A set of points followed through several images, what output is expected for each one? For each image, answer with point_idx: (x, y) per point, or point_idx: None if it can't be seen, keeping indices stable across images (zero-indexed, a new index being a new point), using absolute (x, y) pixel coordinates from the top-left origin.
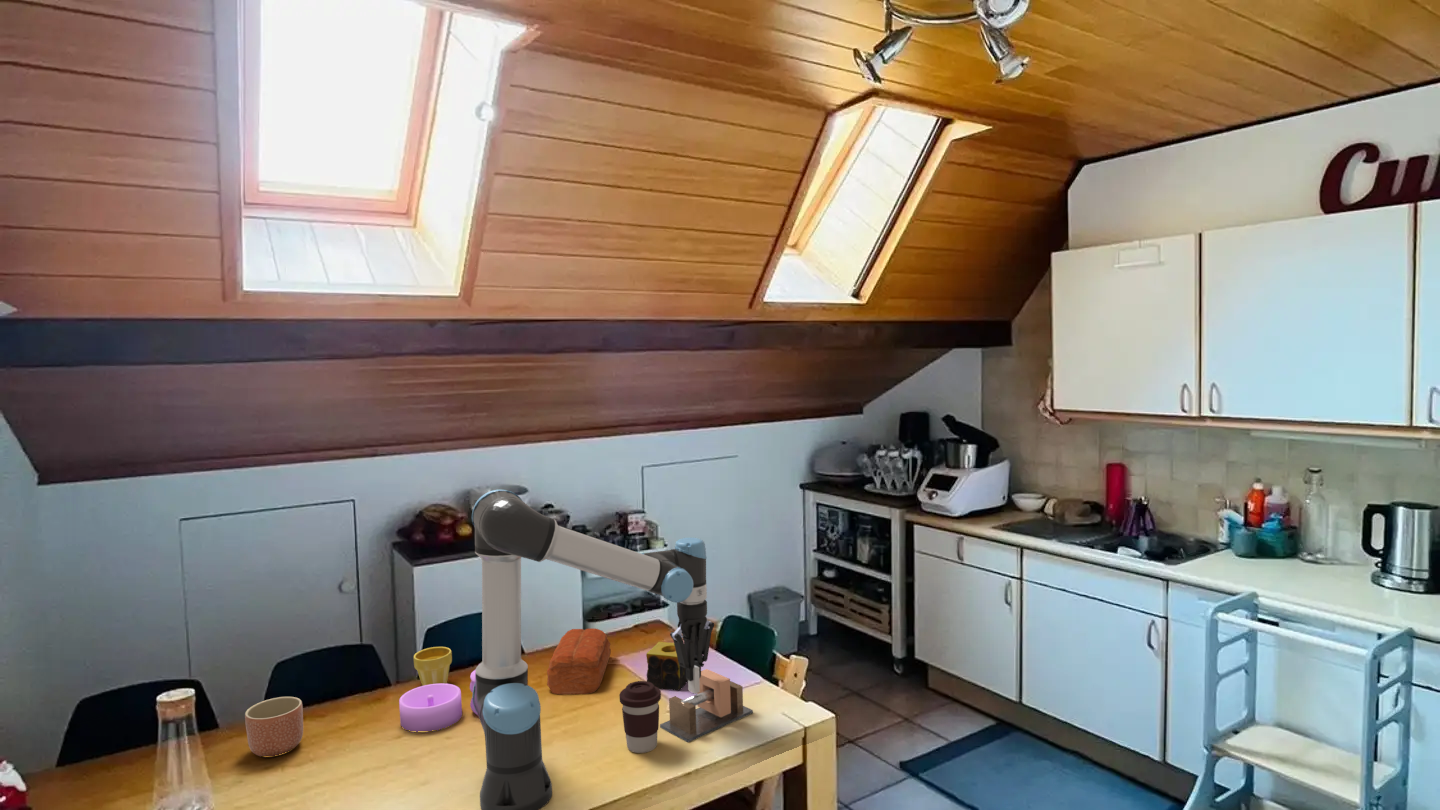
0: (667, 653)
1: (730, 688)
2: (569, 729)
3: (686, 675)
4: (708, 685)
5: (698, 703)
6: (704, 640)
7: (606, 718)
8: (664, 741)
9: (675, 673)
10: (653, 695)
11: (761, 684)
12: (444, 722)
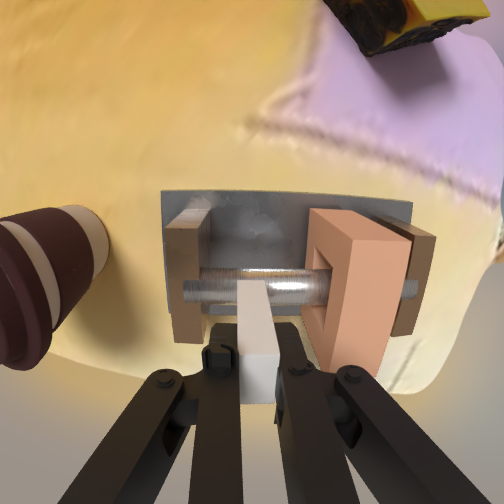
0: None
1: None
2: (28, 60)
3: (209, 341)
4: (329, 305)
5: None
6: (396, 501)
7: (101, 48)
8: (129, 262)
9: (383, 28)
10: (13, 360)
11: (493, 215)
12: None
